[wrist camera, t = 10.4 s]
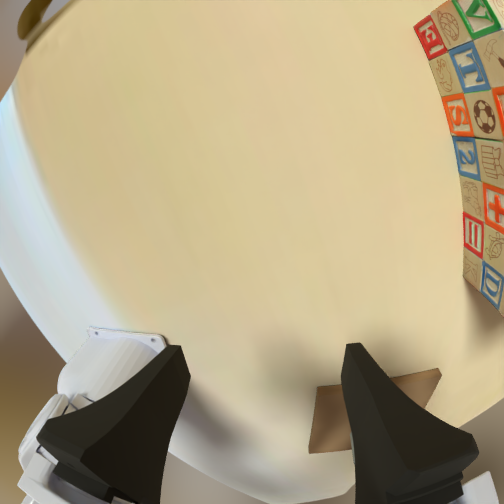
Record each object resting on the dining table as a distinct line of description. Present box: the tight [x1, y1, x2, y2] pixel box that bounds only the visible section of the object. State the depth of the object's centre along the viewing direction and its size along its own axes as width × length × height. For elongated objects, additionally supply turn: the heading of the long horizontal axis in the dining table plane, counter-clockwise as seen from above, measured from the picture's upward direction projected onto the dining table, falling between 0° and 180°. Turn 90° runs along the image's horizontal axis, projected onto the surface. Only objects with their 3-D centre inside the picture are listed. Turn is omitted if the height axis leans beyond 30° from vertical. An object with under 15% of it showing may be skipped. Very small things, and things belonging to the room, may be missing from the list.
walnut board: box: [309, 368, 442, 454], centre depth 25 cm, size 14×14×1 cm
